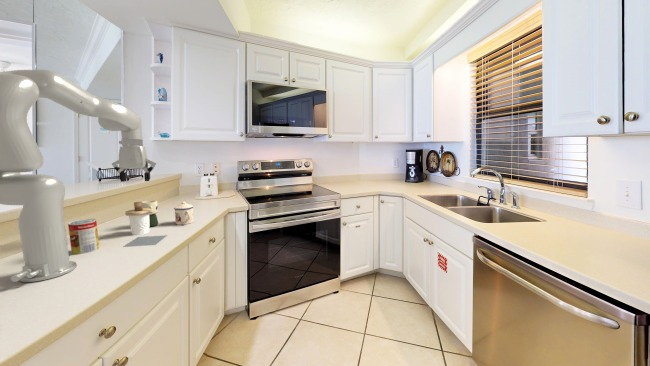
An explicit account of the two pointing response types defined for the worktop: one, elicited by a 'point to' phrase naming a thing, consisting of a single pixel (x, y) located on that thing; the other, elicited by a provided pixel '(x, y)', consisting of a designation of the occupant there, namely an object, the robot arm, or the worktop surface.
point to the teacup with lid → (184, 214)
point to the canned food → (83, 236)
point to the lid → (138, 210)
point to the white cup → (139, 224)
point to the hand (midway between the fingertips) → (135, 181)
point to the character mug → (152, 215)
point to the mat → (145, 241)
